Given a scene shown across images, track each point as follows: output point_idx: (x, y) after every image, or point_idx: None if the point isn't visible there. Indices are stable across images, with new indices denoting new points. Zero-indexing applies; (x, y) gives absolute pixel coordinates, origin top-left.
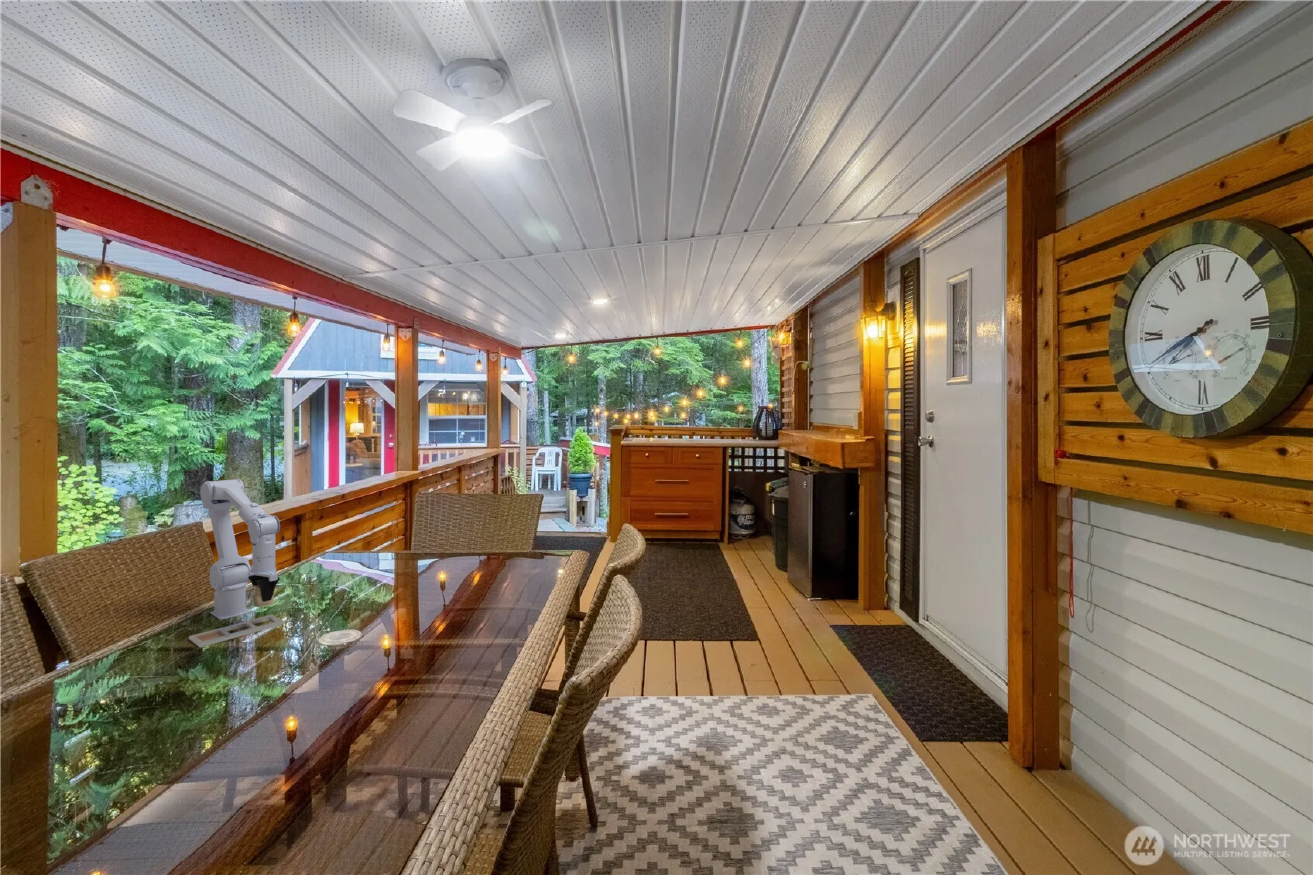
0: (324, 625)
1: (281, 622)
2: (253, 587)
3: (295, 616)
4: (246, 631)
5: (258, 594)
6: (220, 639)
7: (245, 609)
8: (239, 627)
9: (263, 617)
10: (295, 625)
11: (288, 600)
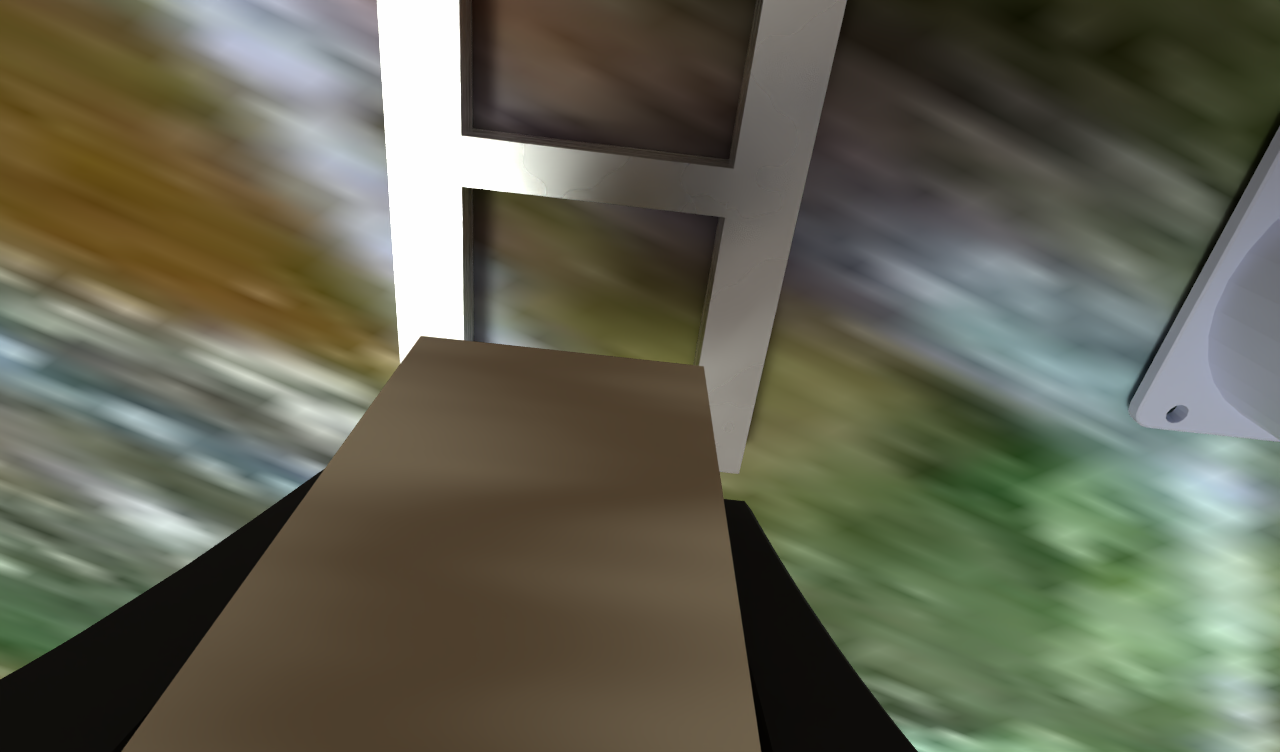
0: (110, 579)
1: None
2: (877, 719)
3: None
4: (377, 4)
5: (323, 535)
6: None
7: (1246, 416)
8: (742, 80)
9: (736, 386)
10: (310, 463)
11: (1059, 716)
